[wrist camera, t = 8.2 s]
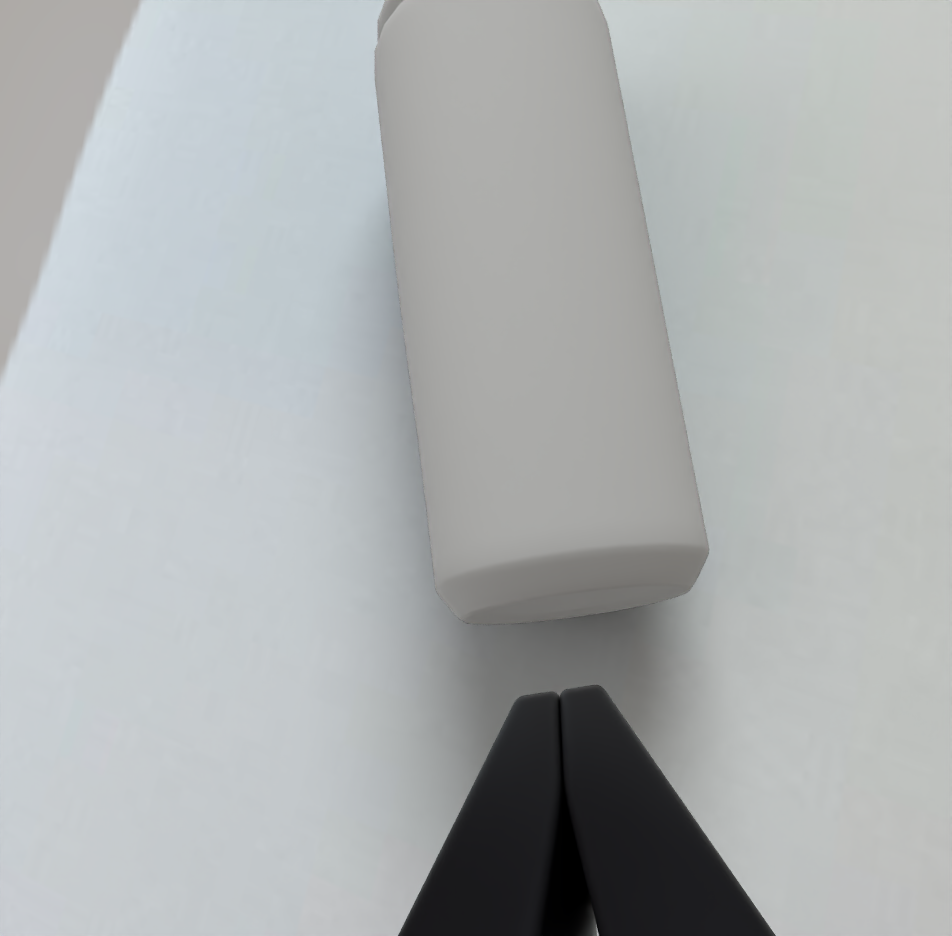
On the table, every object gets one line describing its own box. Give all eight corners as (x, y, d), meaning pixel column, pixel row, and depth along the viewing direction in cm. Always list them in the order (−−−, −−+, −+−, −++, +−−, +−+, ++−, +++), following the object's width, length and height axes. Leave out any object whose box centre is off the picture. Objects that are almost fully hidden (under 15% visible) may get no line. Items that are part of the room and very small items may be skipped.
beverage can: (528, 587, 12) (432, -107, 16) (389, 634, 16) (335, 76, 20) (778, 576, 15) (651, -25, 18) (602, 619, 19) (524, 123, 22)
